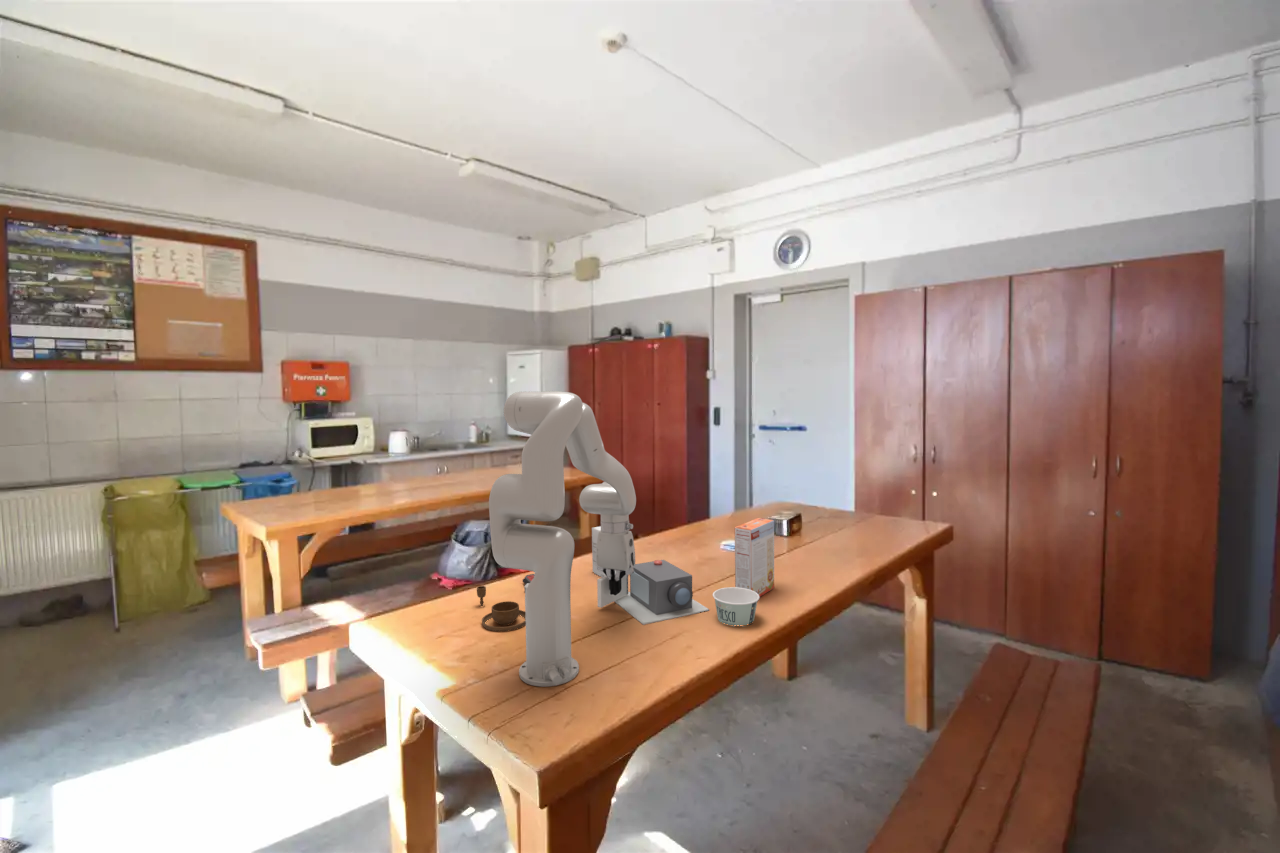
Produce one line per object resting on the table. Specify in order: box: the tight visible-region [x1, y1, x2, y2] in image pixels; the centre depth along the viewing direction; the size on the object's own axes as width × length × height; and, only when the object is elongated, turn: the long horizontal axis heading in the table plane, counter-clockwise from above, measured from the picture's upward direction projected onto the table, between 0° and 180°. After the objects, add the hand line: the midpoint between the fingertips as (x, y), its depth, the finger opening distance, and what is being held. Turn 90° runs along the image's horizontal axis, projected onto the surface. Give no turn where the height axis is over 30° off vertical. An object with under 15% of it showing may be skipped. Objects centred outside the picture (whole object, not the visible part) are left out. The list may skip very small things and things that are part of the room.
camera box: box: [613, 559, 710, 626], centre depth 165 cm, size 22×20×10 cm
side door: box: [596, 571, 629, 608], centre depth 165 cm, size 13×1×8 cm, turn 145°
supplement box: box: [591, 525, 616, 578], centre depth 191 cm, size 9×9×15 cm
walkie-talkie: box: [522, 573, 535, 593], centre depth 175 cm, size 9×4×20 cm
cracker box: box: [734, 517, 775, 598], centre depth 172 cm, size 14×6×21 cm, turn 141°
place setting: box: [476, 585, 526, 632], centre depth 157 cm, size 18×20×6 cm
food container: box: [712, 586, 761, 627], centre depth 154 cm, size 12×12×6 cm
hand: (615, 593), depth 161 cm, fingers closed
